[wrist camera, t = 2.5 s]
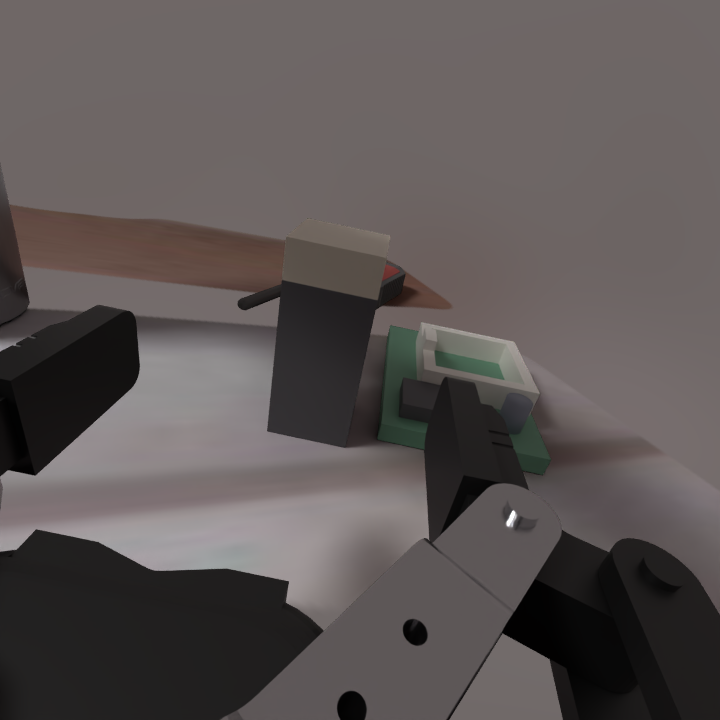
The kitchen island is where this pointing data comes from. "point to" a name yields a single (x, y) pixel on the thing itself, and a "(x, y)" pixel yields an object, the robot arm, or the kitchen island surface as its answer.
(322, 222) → the grey and cream block
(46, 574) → the robot arm
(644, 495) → the kitchen island surface
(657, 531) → the kitchen island surface
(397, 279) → the walkie-talkie
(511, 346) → the controller board
